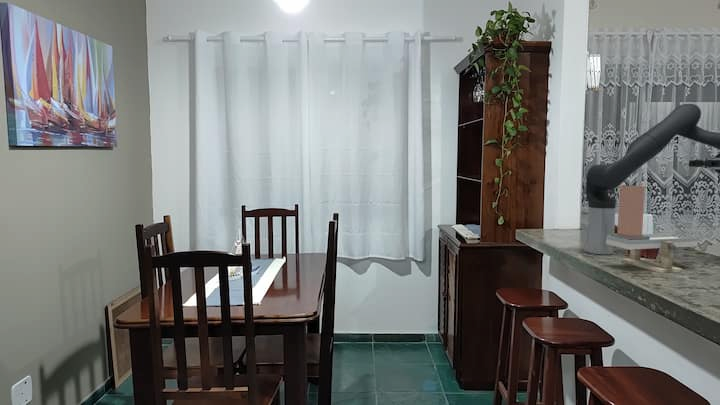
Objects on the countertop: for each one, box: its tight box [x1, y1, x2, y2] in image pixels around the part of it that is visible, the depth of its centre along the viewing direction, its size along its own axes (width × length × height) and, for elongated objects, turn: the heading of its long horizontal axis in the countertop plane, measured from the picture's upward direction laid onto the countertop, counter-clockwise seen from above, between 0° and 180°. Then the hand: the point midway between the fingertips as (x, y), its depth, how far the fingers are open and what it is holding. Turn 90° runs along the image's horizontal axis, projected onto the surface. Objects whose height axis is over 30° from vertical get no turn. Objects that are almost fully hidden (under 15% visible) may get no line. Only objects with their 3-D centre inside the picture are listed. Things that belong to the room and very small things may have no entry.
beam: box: [606, 232, 699, 250], centre depth 163 cm, size 26×10×3 cm, turn 102°
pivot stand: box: [620, 241, 683, 274], centre depth 163 cm, size 8×18×9 cm, turn 12°
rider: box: [610, 185, 650, 240], centre depth 160 cm, size 8×8×18 cm
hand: (690, 163), depth 168 cm, fingers closed
